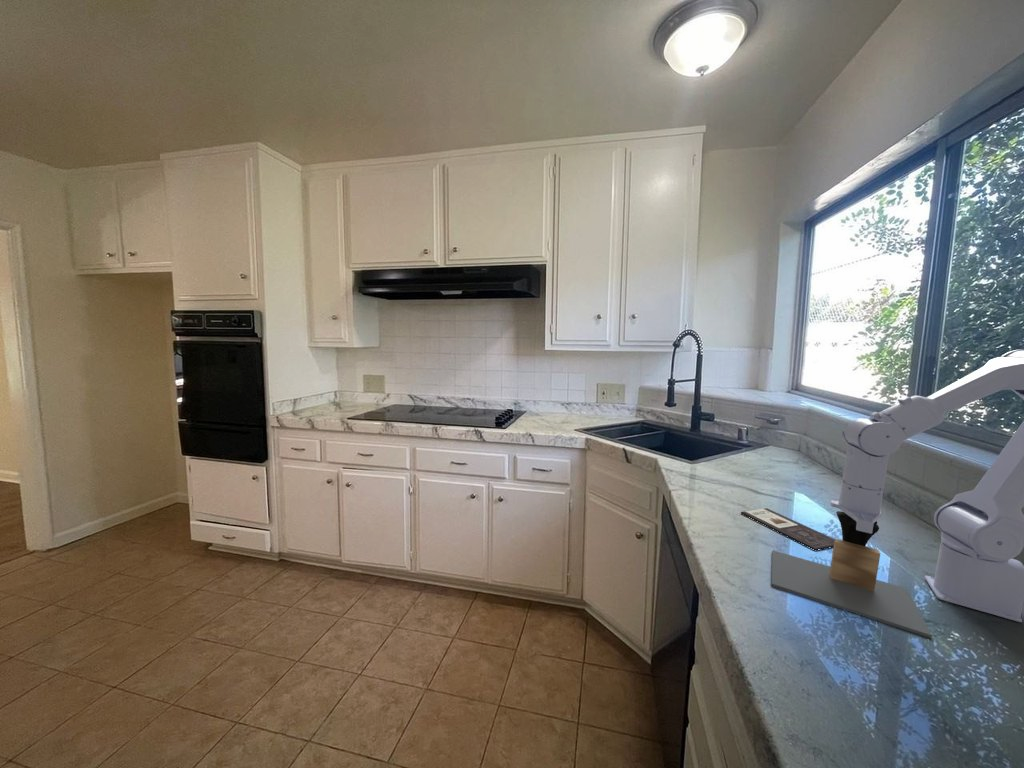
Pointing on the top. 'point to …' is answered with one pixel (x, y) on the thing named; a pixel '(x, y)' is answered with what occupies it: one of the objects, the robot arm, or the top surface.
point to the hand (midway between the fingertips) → (851, 554)
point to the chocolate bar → (791, 528)
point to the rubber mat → (847, 593)
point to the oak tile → (854, 564)
